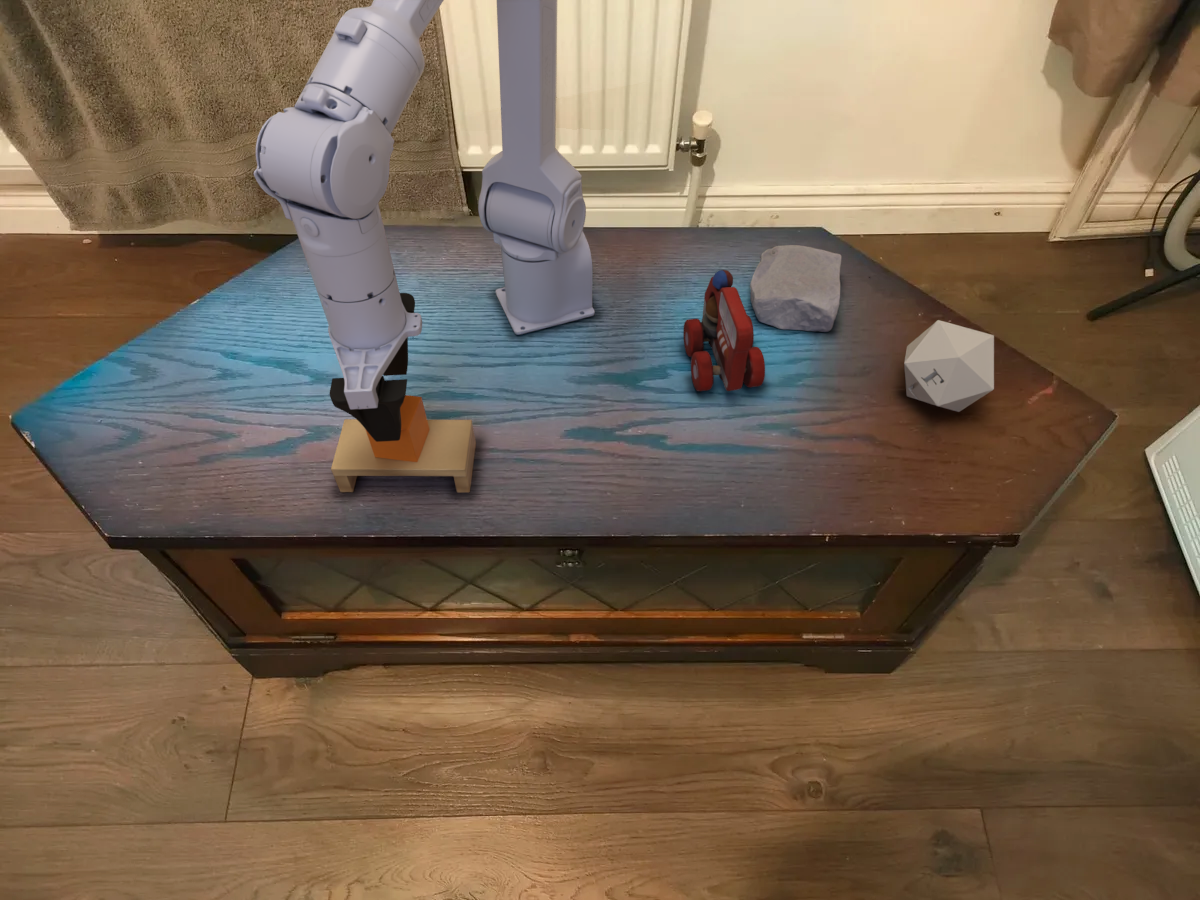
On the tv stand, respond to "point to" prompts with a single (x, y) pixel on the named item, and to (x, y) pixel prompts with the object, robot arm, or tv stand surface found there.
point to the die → (950, 366)
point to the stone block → (797, 288)
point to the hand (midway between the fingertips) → (391, 404)
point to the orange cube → (405, 433)
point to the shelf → (440, 456)
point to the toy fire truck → (723, 339)
